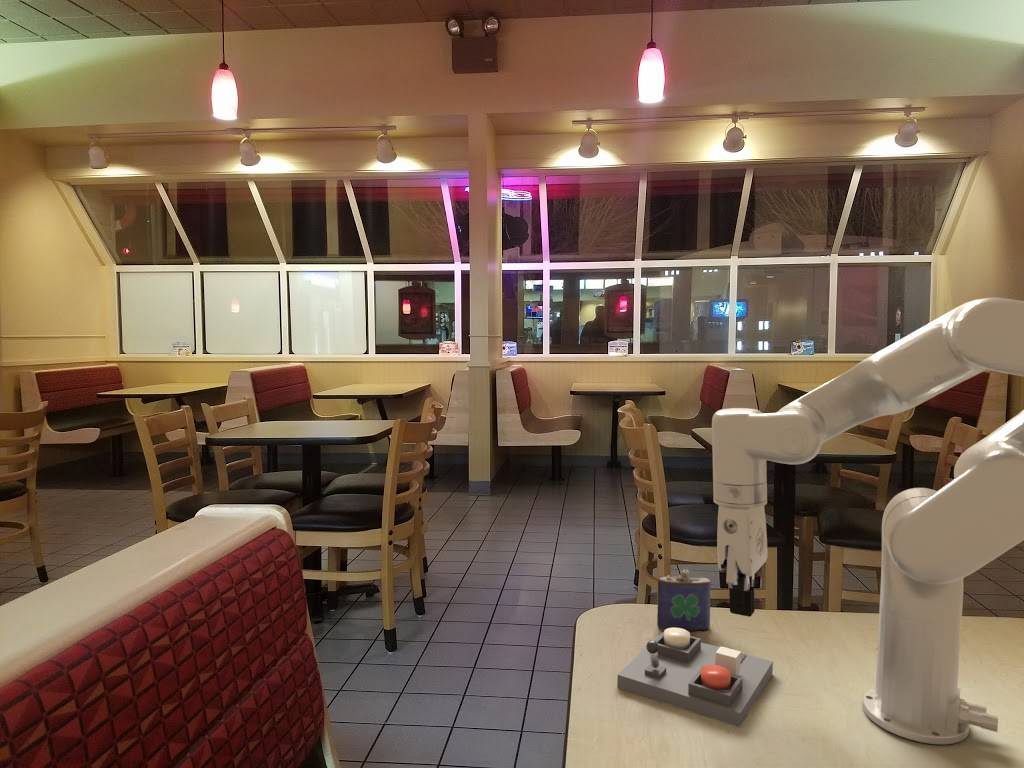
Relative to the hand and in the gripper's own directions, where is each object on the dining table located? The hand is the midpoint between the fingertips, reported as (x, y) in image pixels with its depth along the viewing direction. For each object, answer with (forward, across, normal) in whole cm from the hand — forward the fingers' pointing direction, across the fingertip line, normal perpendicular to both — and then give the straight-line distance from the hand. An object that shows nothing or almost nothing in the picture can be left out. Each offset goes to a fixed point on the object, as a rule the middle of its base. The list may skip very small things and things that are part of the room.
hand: (742, 612), depth 104 cm
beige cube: (+8, -3, +1) cm, 9 cm away
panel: (+10, -4, +6) cm, 13 cm away
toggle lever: (+7, -9, +10) cm, 15 cm away
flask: (+10, +12, +14) cm, 21 cm away
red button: (+7, -9, +1) cm, 11 cm away
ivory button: (+7, 0, +10) cm, 12 cm away
